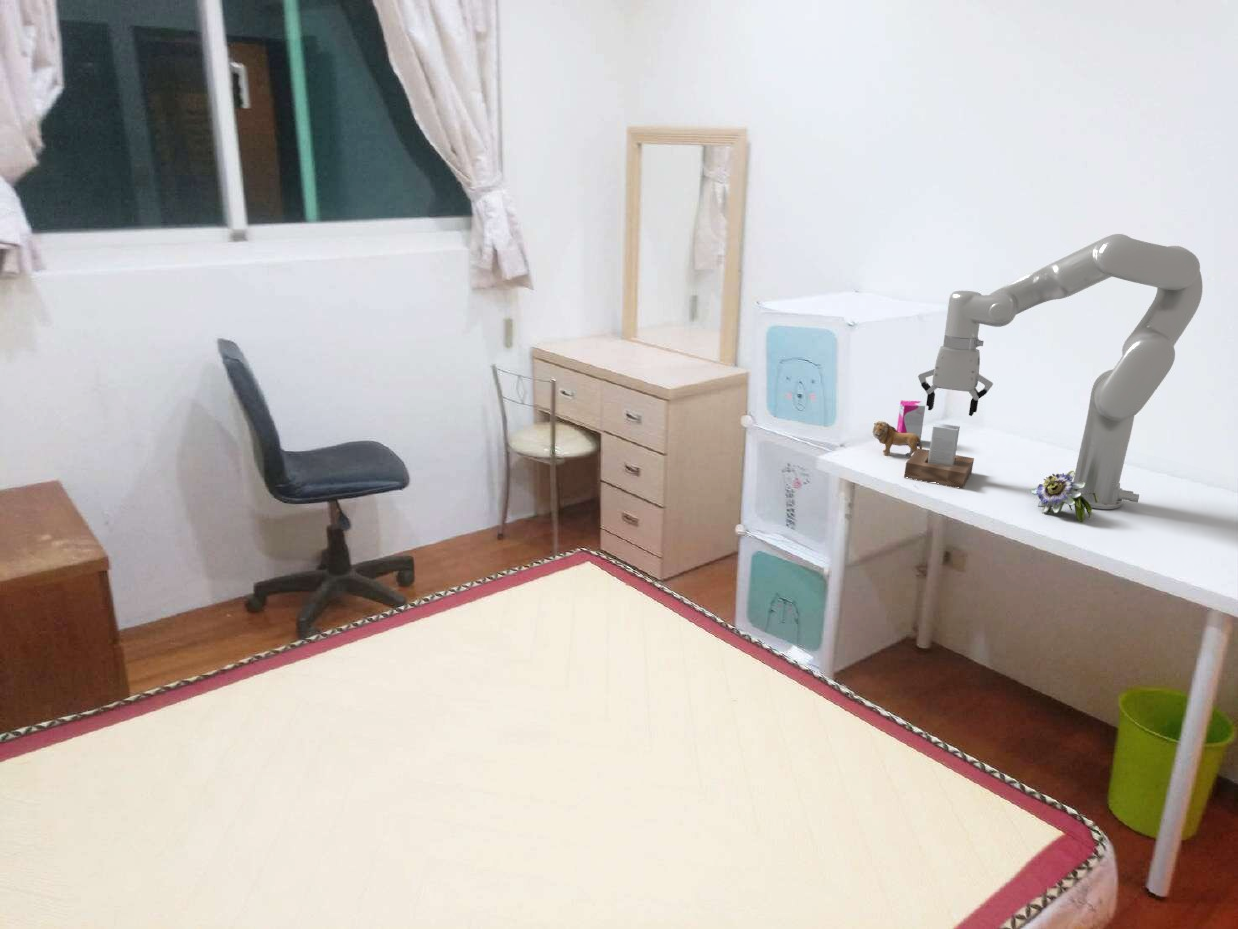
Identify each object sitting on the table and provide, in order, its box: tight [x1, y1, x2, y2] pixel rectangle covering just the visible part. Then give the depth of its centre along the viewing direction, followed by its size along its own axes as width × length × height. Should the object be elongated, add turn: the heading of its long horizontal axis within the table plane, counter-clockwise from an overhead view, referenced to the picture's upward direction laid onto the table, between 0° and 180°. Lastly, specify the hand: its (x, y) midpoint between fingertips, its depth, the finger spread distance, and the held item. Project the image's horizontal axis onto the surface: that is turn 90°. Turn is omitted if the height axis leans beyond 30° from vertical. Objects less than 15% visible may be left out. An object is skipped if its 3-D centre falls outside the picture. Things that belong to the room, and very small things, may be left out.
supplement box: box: [896, 399, 926, 446], centre depth 252 cm, size 6×6×12 cm
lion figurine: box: [872, 420, 923, 457], centre depth 241 cm, size 15×5×9 cm, turn 74°
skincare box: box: [928, 422, 961, 467], centre depth 226 cm, size 6×4×12 cm
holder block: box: [903, 447, 975, 489], centre depth 227 cm, size 14×14×4 cm
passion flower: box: [1030, 470, 1098, 523], centre depth 205 cm, size 11×11×12 cm
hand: (950, 411), depth 222 cm, fingers open, 9 cm apart
